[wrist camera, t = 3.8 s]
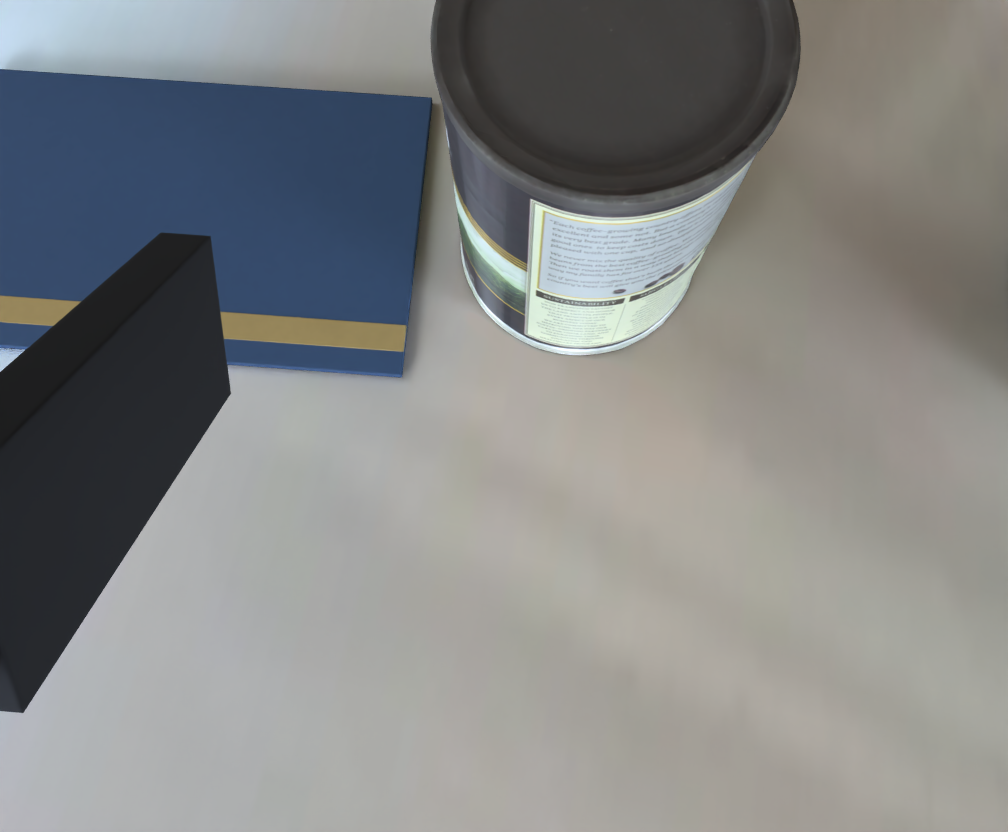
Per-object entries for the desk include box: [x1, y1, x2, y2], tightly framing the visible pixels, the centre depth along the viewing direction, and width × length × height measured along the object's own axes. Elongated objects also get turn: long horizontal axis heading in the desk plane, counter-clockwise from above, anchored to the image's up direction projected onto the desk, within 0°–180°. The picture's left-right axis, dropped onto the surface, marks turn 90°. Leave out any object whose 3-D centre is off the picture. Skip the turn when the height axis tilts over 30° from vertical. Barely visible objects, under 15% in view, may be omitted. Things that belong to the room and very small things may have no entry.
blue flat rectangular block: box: [0, 69, 432, 377], centre depth 38 cm, size 20×13×1 cm, turn 85°
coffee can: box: [431, 0, 801, 355], centre depth 31 cm, size 10×10×14 cm
